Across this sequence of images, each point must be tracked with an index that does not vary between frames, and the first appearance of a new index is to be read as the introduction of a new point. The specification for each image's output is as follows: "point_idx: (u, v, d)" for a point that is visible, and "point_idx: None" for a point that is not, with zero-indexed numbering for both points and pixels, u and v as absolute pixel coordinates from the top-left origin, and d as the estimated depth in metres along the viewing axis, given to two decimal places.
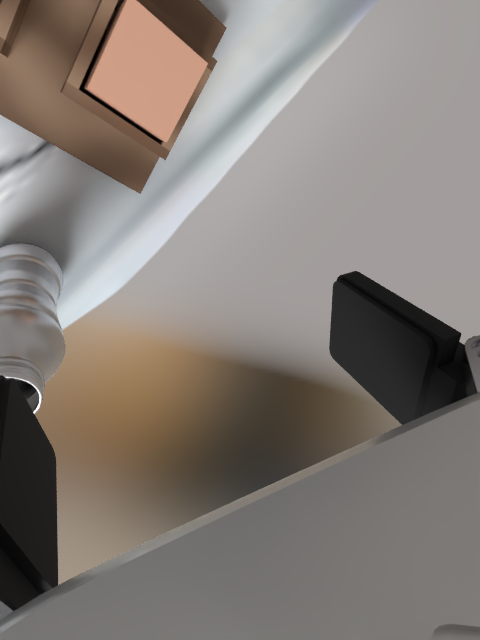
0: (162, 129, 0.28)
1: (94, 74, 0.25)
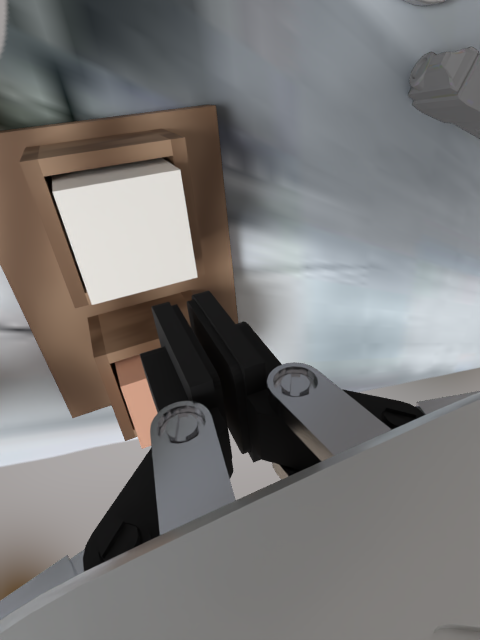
0: (147, 438, 0.27)
1: (135, 382, 0.24)
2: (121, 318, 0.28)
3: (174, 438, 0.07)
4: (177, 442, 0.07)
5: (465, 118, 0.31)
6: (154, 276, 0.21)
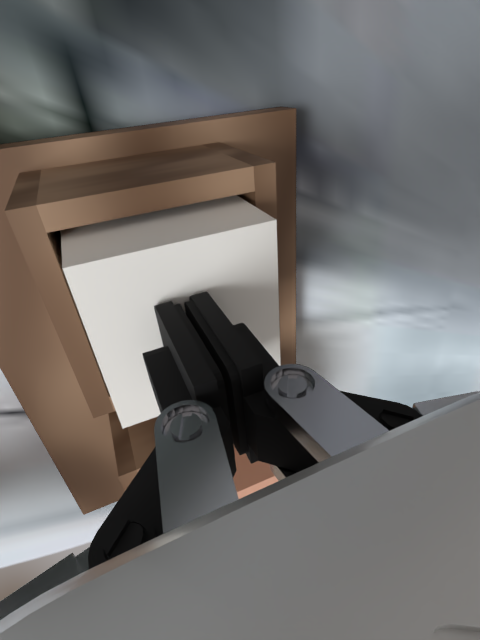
0: None
1: None
2: None
3: (178, 437, 0.07)
4: (181, 441, 0.07)
5: None
6: None
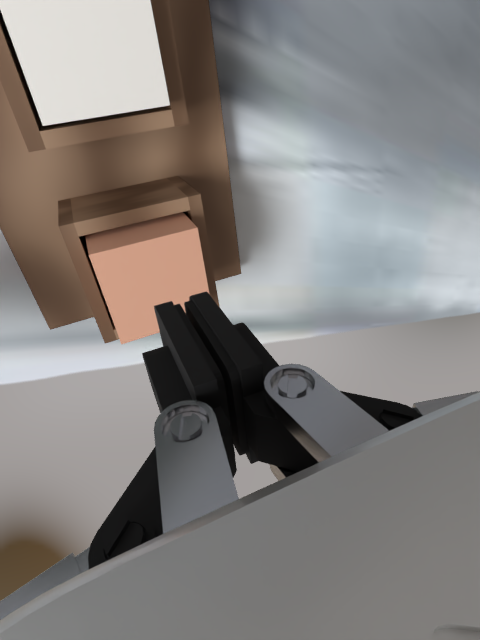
0: (127, 331, 0.23)
1: (107, 251, 0.20)
2: (96, 198, 0.24)
3: (178, 437, 0.07)
4: (181, 441, 0.07)
5: None
6: (116, 95, 0.18)
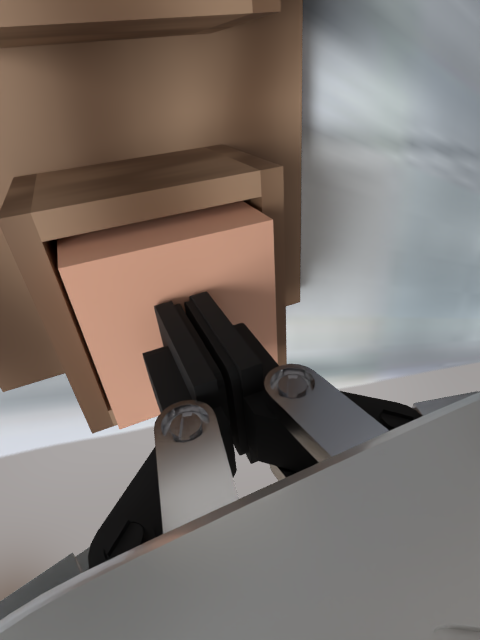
0: (131, 408, 0.13)
1: (98, 261, 0.10)
2: (83, 173, 0.13)
3: (178, 437, 0.07)
4: (181, 441, 0.07)
5: None
6: None
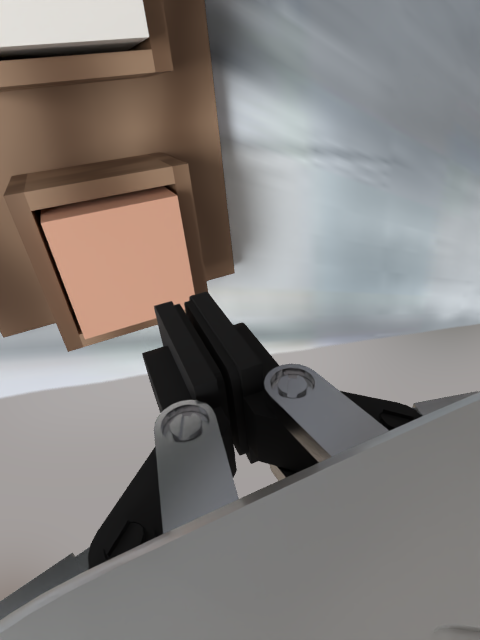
0: (92, 323, 0.19)
1: (65, 219, 0.16)
2: (59, 172, 0.20)
3: (178, 437, 0.07)
4: (181, 441, 0.07)
5: None
6: (77, 15, 0.13)
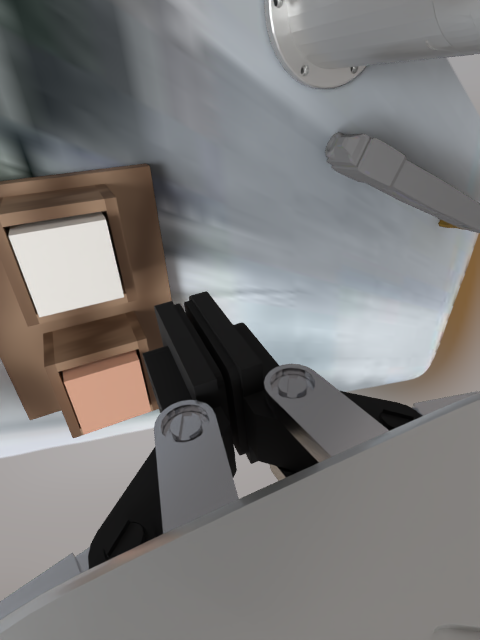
0: (88, 426, 0.33)
1: (76, 378, 0.31)
2: (71, 334, 0.34)
3: (178, 437, 0.07)
4: (181, 441, 0.07)
5: (369, 181, 0.39)
6: (88, 296, 0.28)
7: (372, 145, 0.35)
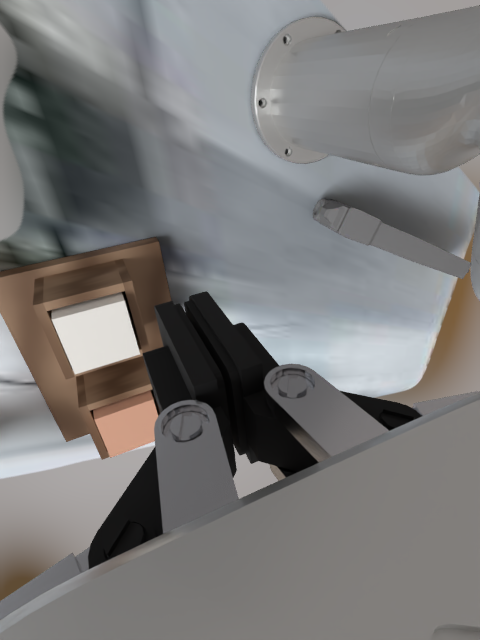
0: (114, 451, 0.41)
1: (104, 416, 0.38)
2: (98, 376, 0.42)
3: (178, 437, 0.07)
4: (181, 441, 0.07)
5: None
6: (112, 356, 0.35)
7: (351, 213, 0.41)
